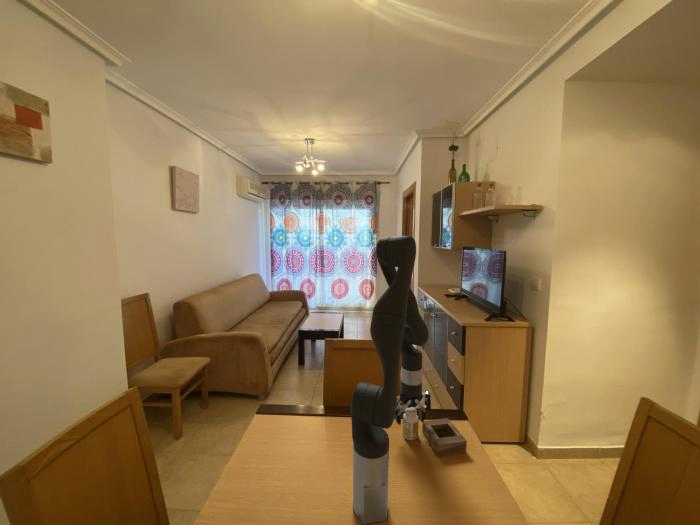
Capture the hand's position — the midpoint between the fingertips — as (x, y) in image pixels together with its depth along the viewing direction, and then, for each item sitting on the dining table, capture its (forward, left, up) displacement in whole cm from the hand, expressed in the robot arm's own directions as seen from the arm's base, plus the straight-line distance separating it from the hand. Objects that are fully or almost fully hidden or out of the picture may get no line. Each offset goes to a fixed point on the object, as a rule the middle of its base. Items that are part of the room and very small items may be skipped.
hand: (410, 421), depth 106 cm
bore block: (-5, -10, -5) cm, 12 cm away
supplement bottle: (0, 0, -5) cm, 5 cm away
